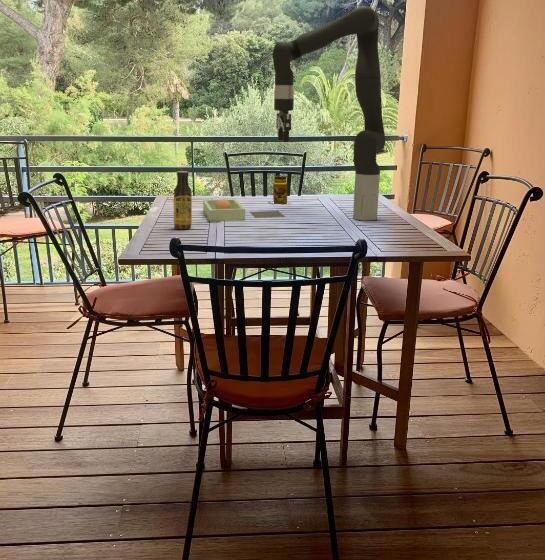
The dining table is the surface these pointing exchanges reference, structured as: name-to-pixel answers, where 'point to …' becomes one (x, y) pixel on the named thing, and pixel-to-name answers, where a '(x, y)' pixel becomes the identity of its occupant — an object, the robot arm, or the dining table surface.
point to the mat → (267, 214)
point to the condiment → (280, 190)
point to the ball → (223, 204)
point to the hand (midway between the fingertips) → (283, 140)
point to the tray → (223, 211)
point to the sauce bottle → (182, 202)
